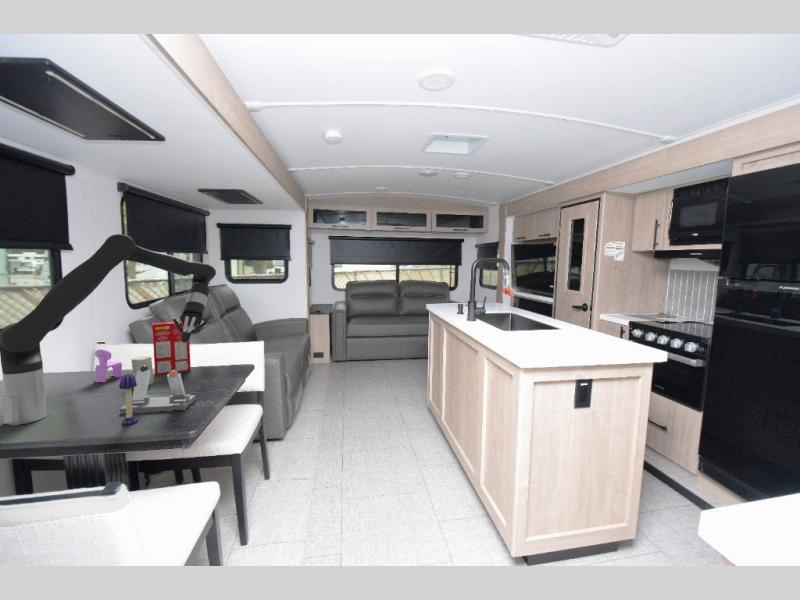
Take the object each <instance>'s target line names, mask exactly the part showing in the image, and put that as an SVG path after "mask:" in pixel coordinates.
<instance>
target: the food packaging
mask: <svg viewBox="0 0 800 600" xmlns="http://www.w3.org/2000/svg"><path fill="white" fill-rule="evenodd" d="M151 325H152V341H153V343H152V345H153V360H154V363H153V364H154V377H157V375H158V376H163V375H164V374H165V375H168V374H169V372H170V371H171V370H176V371H177V373H178V372H179V373H185V372H184V371H186V372H190V371H189V370H191V368H192V367H191V365H192V364H191V351H190V350H191V349H190V346H191V345H190V341H189V342H187V343H183V342H182V340H181V337H182V334H183V333H180V332H179V331H178V329H177V327H176V326H175V324H174V322H173V321H168V322H167V321H165V322H153V323H152V324H151ZM179 325H180V326H181V328H182V329H184V325H183V323H182V322H181V321H180V324H179ZM191 371H192V370H191Z"/></svg>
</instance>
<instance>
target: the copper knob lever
mask: <svg viewBox="0 0 800 600" xmlns="http://www.w3.org/2000/svg"><path fill="white" fill-rule="evenodd" d="M181 375H182V374H181V372H179V373H177V371H176V370H171V371H170V372H169V374H166V379H167V382H168V386H169V389H170V393H171V395H172V397H173V400H183V399H186V395H187V394H186V391H185V387H184V383H183V379H182V376H181Z"/></svg>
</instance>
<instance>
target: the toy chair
mask: <svg viewBox="0 0 800 600" xmlns="http://www.w3.org/2000/svg"><path fill="white" fill-rule="evenodd" d="M94 357H96V358H98V362H99V364H96V365H95V369H94V370H95V378H94V380H93V382H94V381H96V382H95V383H98V382H106V383H107V381H106V380H107V379H106V375H107V371H108V370H109V369H110V368H111V369H112V371H111V372H112V373H111V375H110V377H111V376H115V377H114V378H122V376H123V373H122V372H123V371H122V370H123V369H122V367H123V364H122V361H110V360H111V358H112V353H111V352H110V351H109V350H107V349H102V348H101V349H100V348H99V349H96V350H95V352H94Z"/></svg>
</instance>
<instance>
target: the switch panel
mask: <svg viewBox="0 0 800 600" xmlns="http://www.w3.org/2000/svg"><path fill="white" fill-rule="evenodd" d="M185 395H186V399H183V400H173V397H172V394H171V395H169V396H156V397H150V396H148V395H146V397H145V398H144V400H145V401H138V402H132V414H143V413H144V414H146V413H147V412H149V413H160V412H159V411H166V412H174V411H173V410H183V411H186V408H187V407H188V406H189V405H190V404H191V405H192V404H193V403H194V402H195V401H196V399H197V398H196V394H195V395H194V394H192V395H191V394H189V393H188V394H185ZM191 405H190V406H191ZM190 406H189V407H190ZM189 407H188V408H189ZM188 408H187V409H188ZM126 410H127V409H126V404H125V405H123V406H121V407H120V408H119V415H126V414H127V413H126Z"/></svg>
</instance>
